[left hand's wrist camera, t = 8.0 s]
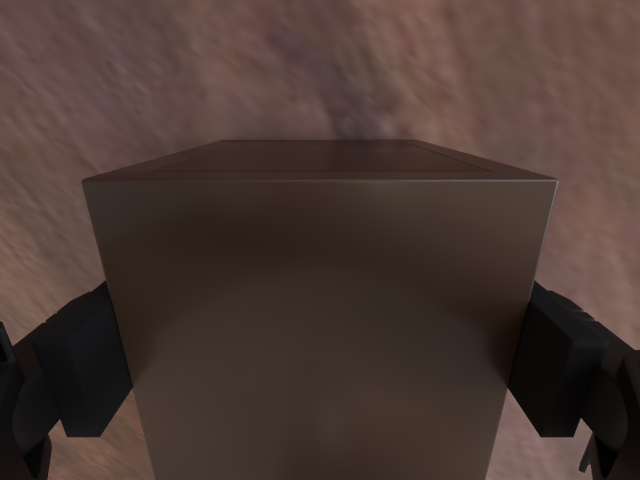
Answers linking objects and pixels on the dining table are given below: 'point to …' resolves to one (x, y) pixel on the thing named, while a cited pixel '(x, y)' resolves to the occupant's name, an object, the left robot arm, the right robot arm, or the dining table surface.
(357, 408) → the brown block
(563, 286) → the dining table surface
